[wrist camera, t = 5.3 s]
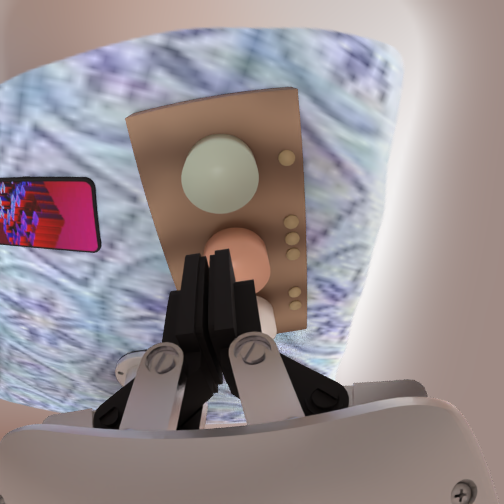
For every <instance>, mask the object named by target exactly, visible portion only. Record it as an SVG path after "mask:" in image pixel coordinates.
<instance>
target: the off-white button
mask: <svg viewBox="0 0 504 504" xmlns="http://www.w3.org/2000/svg"><path fill="white" fill-rule="evenodd" d="M256 298H257V304H258V310H259V317H260V323H261V330H262V333H264V334H267V335H269V336H270V337H271V338H272V339H274V338H275V336H276V333H277V329H276V323H275V318H274V313H273V308H272V306H271V304H270V303H269V302H268V301H267V300H265V299H264V298H261V297H258V296H256Z"/></svg>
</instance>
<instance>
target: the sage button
mask: <svg viewBox="0 0 504 504" xmlns="http://www.w3.org/2000/svg"><path fill="white" fill-rule="evenodd" d="M181 182H182V187H183V190H184V192H185V195H186V196H187V198H188V199H189V200H190V201H191V202H192V203H193V204H194V205H195V206H196V207H198V208H200V209H201V210H204V211H206V212H210V213H215V214H224V213H230V212H233V211H236V210H238V209H240V208H242V207H243V206H245V205H246V204H247V203H248V202H249V201H250V200H251V199H252V197H253V196H254V194H255V192H256V190H257V187H258V183H259V173H258V168H257V165H256V162H255V159H254V156H253V153H252V151H251V149H250V148H249V147H248V146H247V144H246V143H244V142H243V141H242V140H240V139H239V138H237V137H235V136H232V135H228V134H214V135H210V136H207V137H205V138H203V139H201V140H200V141H198V142H197V143H196V144H195V145H194V146H193V147H192V148H191V150H190V151H189V153H188V156H187V158H186V161H185V164H184V167H183V170H182V175H181Z"/></svg>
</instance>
